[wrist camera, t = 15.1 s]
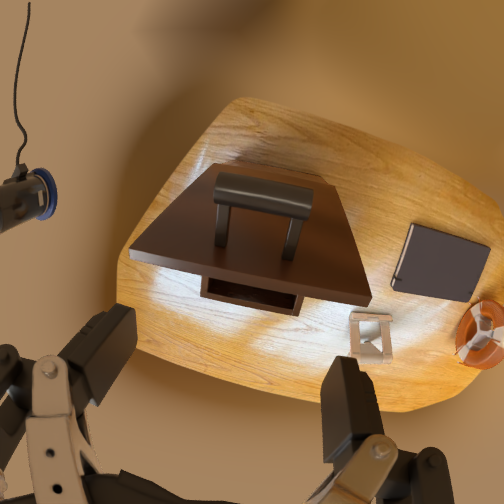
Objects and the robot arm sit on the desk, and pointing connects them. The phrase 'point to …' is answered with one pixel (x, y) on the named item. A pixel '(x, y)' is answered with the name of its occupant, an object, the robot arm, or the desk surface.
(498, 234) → the desk surface
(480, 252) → the notebook
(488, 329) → the coil
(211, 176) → the lid
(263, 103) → the desk surface
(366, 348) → the tablet stand
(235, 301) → the chest
